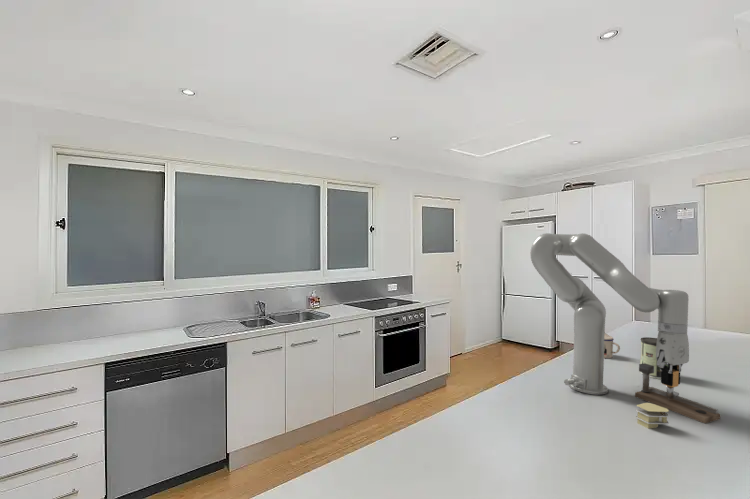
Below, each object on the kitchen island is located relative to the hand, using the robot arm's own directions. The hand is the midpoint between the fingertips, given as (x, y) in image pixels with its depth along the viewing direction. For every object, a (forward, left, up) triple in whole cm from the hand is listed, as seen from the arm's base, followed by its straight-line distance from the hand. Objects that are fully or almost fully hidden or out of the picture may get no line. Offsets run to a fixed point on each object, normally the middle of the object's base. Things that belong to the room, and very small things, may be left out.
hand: (670, 383), depth 121 cm
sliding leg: (+1, 0, -5) cm, 5 cm away
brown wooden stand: (0, -2, -7) cm, 7 cm away
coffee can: (+26, +19, -7) cm, 33 cm away
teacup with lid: (+30, +44, -7) cm, 53 cm away
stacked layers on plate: (-20, -6, -8) cm, 22 cm away
